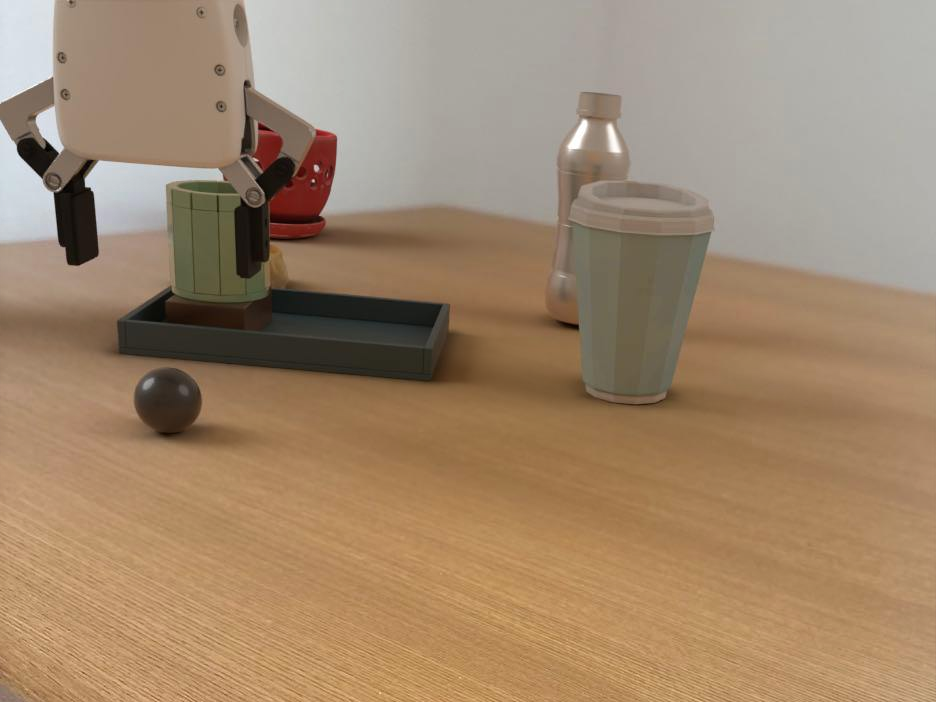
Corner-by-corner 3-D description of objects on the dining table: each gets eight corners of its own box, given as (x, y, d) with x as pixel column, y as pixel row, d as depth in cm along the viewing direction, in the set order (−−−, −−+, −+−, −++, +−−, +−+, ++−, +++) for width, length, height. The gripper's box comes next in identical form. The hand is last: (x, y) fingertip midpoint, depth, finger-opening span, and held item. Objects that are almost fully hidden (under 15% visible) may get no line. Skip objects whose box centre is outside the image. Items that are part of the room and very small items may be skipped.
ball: (126, 438, 68) (121, 374, 66) (148, 418, 72) (144, 357, 70) (192, 444, 68) (189, 380, 67) (211, 423, 72) (209, 362, 70)
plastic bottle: (601, 336, 101) (628, 98, 93) (531, 324, 103) (551, 90, 95) (622, 322, 107) (648, 97, 99) (555, 311, 109) (575, 89, 101)
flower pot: (279, 247, 125) (279, 133, 120) (197, 228, 132) (193, 119, 127) (358, 237, 136) (360, 131, 131) (279, 219, 142) (278, 118, 137)
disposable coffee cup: (709, 417, 82) (741, 205, 76) (564, 412, 80) (586, 195, 74) (670, 374, 92) (696, 183, 86) (540, 369, 90) (557, 173, 84)
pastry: (194, 295, 102) (192, 252, 101) (174, 279, 107) (172, 238, 106) (294, 291, 107) (293, 250, 105) (269, 276, 112) (269, 237, 110)
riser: (166, 339, 86) (164, 300, 85) (200, 313, 95) (199, 277, 93) (245, 346, 87) (244, 308, 85) (272, 319, 95) (272, 283, 94)
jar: (159, 297, 86) (153, 189, 83) (188, 278, 93) (183, 177, 89) (256, 306, 86) (254, 198, 83) (278, 286, 93) (277, 185, 90)
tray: (118, 353, 84) (116, 320, 83) (181, 307, 98) (179, 278, 97) (430, 381, 84) (432, 349, 83) (448, 332, 98) (450, 303, 97)
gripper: (325, -46, 62) (327, 267, 69) (11, -71, 62) (44, 246, 69) (297, -56, 56) (301, 292, 62) (-57, -85, 55) (-13, 268, 62)
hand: (166, 267), depth 66 cm, fingers open, 9 cm apart
